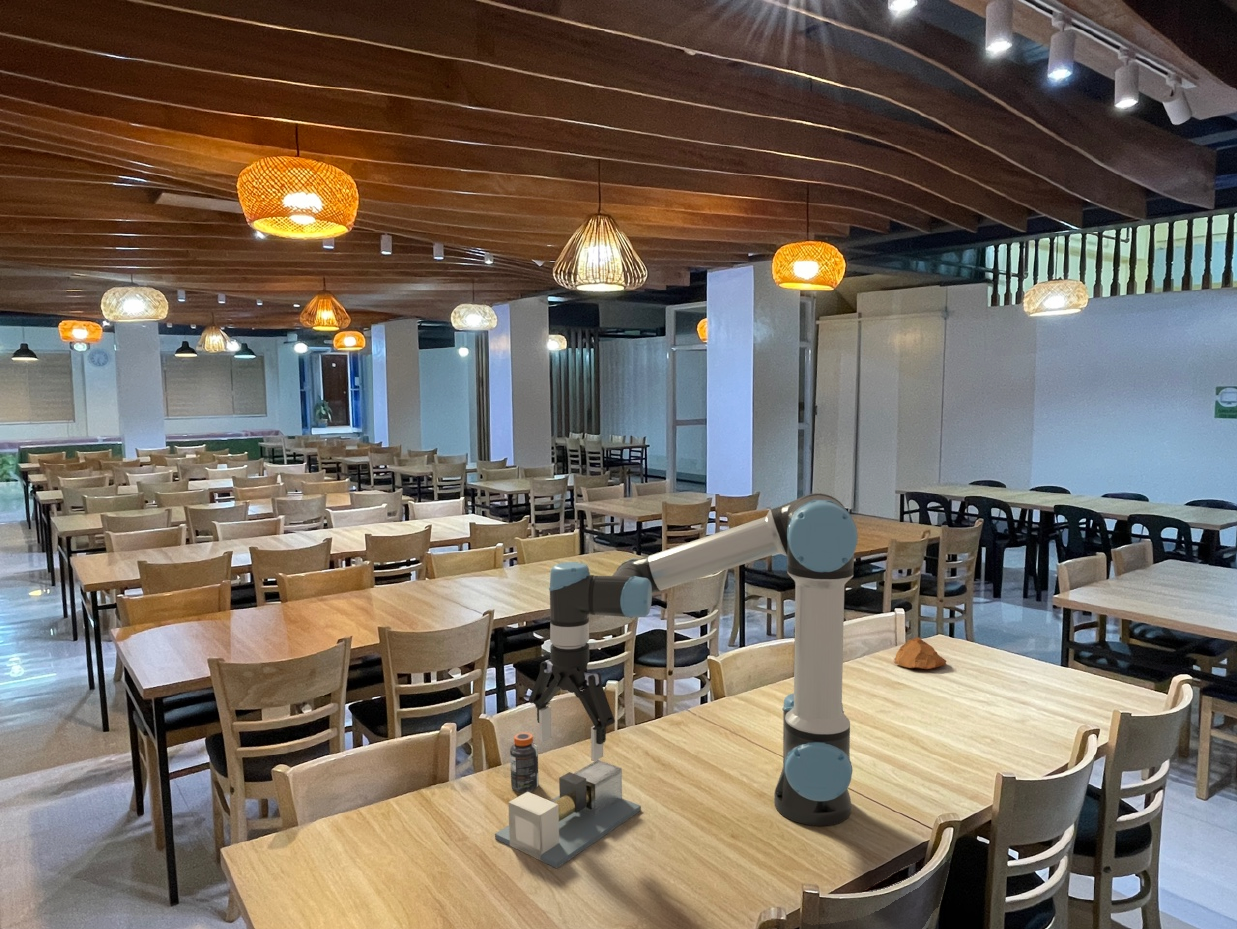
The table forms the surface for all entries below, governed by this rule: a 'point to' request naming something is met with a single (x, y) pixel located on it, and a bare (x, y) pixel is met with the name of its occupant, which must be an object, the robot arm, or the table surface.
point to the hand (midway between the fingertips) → (570, 749)
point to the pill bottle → (524, 763)
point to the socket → (533, 824)
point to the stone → (918, 655)
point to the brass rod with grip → (572, 795)
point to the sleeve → (602, 785)
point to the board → (581, 831)
